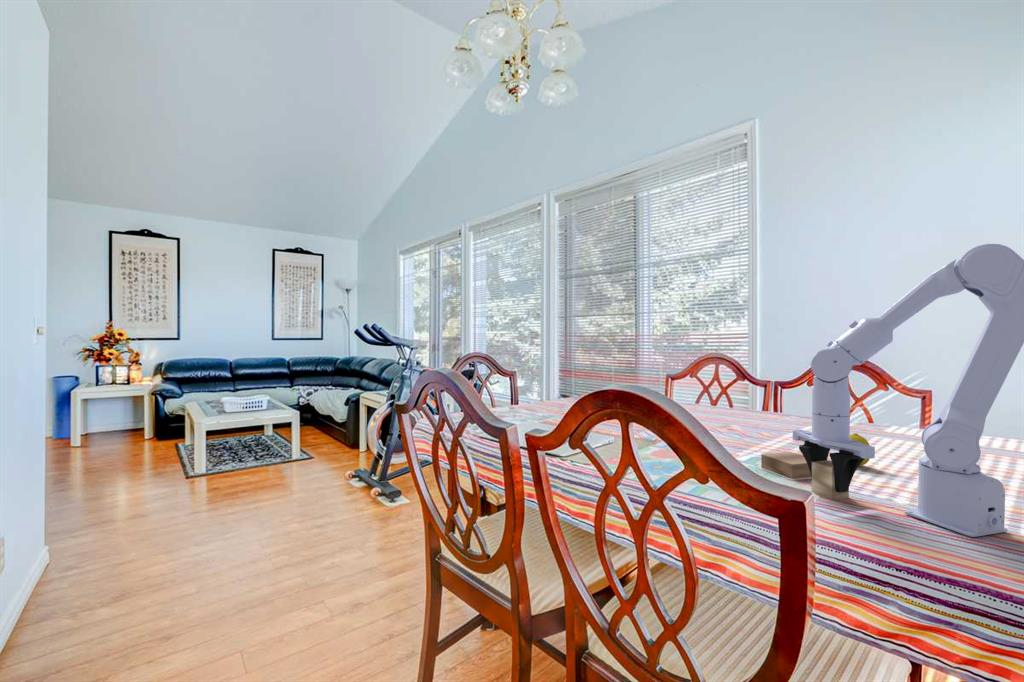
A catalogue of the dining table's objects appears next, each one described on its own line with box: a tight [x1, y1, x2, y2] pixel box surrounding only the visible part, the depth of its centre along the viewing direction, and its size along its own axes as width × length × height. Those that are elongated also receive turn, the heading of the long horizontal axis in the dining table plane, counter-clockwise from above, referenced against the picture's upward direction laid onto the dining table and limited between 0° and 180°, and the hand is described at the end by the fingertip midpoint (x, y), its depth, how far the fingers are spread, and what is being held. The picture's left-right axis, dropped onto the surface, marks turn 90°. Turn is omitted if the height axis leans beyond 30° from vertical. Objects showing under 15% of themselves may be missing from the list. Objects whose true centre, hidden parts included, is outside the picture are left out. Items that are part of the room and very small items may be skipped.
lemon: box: [850, 432, 871, 467], centre depth 102 cm, size 6×6×8 cm
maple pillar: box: [811, 459, 850, 501], centre depth 83 cm, size 4×4×6 cm
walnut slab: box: [760, 451, 811, 479], centre depth 97 cm, size 8×8×3 cm
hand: (829, 487), depth 83 cm, fingers closed on maple pillar, 4 cm apart
